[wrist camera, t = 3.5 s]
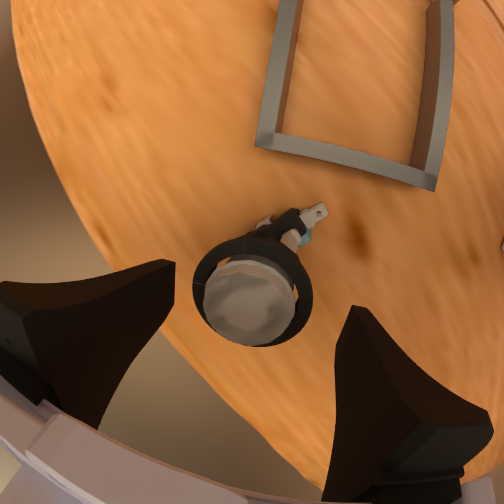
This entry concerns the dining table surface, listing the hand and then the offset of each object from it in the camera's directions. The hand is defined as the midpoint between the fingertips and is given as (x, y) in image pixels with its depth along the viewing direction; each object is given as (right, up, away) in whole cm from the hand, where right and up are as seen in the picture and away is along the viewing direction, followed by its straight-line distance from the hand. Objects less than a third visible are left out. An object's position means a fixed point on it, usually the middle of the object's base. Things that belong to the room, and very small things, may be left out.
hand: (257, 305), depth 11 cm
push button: (+2, +4, +9) cm, 10 cm away
